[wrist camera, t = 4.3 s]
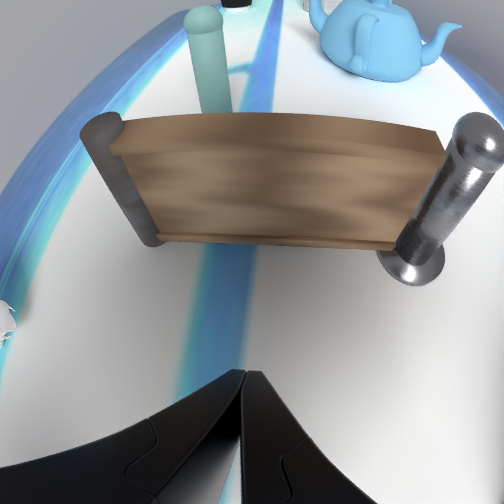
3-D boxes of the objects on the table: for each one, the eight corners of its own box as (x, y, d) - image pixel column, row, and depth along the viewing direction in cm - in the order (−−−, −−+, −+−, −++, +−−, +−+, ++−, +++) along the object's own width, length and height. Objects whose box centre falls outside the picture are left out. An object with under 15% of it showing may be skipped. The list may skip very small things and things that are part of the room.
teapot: (345, 94, 27) (357, 4, 18) (292, 41, 34) (293, -25, 25) (443, 93, 28) (465, 25, 19) (380, 41, 36) (389, -15, 27)
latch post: (215, 153, 23) (190, 17, 13) (188, 132, 25) (159, 12, 15) (253, 131, 24) (245, 2, 14) (225, 112, 26) (209, -3, 16)
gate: (385, 229, 18) (437, 120, 11) (389, 257, 17) (453, 151, 10) (145, 220, 20) (90, 115, 12) (137, 246, 19) (72, 143, 11)
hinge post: (418, 301, 17) (529, 185, 7) (361, 248, 19) (423, 100, 9) (453, 253, 18) (540, 138, 8) (401, 207, 20) (460, 76, 10)
